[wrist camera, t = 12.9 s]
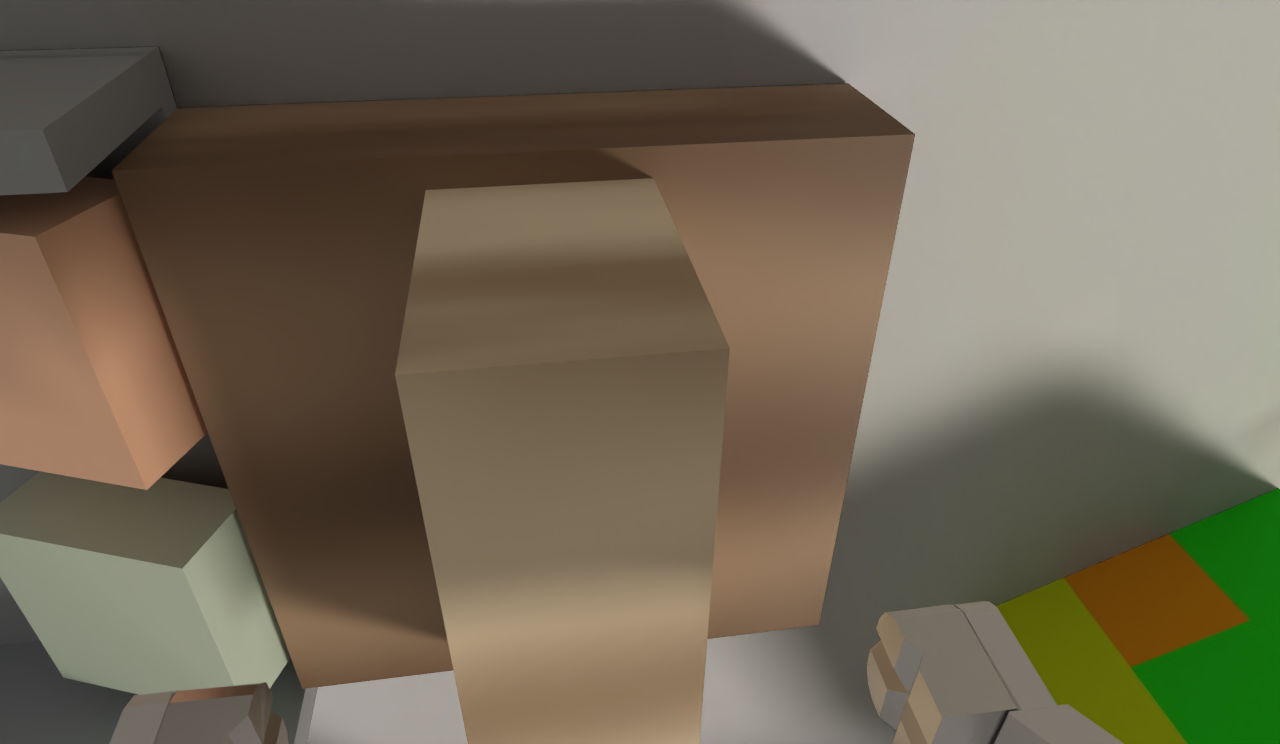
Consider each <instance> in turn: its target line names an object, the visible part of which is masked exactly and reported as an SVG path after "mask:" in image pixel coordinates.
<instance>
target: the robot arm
mask: <svg viewBox="0 0 1280 744" xmlns="http://www.w3.org/2000/svg"><path fill="white" fill-rule="evenodd" d="M876 630H877V632H878V634H879V637H880V639H881V640H880V641H879V642H878V643H877V644H876V645H874V646H873V647H872V648H871V649H870V652H869V656H868V661H867V678H868V686H869V690H870V694H871V697H872V701H873V703H874V706H875V708H876V711H877V713H878V716H879V717H880V718H881V719H882V720H883V721H885V722H886V723H887V724H888V725H890V726H891V727H892V728H893V729H895V730H896V732H895V736H894V740H893V743H892V744H1124V743H1122V742H1121V741H1119V740H1118V739H1117V738H1115V737H1114V736H1112V735H1111V734H1109V733H1108V732H1107V731H1105V730H1104V729H1102V728H1101V727H1099V726H1098V725H1097V724H1095V723H1094V722H1092V721H1091V720H1089V719H1088V718H1087V717H1085V716H1084V715H1082V714H1081V713H1079V712H1078V711H1077V710H1075V709H1074V708H1072V707H1071V706H1069V705H1068V704H1065V705H1057V704H1056V702H1055V700H1054V699H1053V697H1052V696H1051V694H1050V692H1049V691H1048V689H1047V688H1046V686H1045V684H1044V683H1043V681H1042V679H1041V678H1040V676H1039V675H1038V673H1037V671H1036V670H1035V668H1034V666H1033V665H1032V663H1031V662H1030V660H1029V658H1028V657H1027V655H1026V653H1025V652H1024V650H1023V649H1022V647H1021V645H1020V644H1019V642H1018V641H1017V639H1016V637H1015V636H1014V634H1013V632H1012V631H1011V629H1010V628H1009V626H1008V624H1007V623H1006V621H1005V619H1004V618H1003V616H1002V615H1001V613H1000V611H999V610H998V608H997V607H996V606H995V605H993V604H992V603H991V602H990V601H979V602H971V603H964V604H956V605H951V604H946V605H939V606H931V607H923V608H915V609H908V610H900V611H892V612H885V613H884V614H883V615H882V616H881V617H880V618H879V621H878V624H877V628H876ZM273 698H274V697H273V695H272V693H271V691H270V689H269V687H268V685H267V683H266V682H263V683H253V684H243V685H232V686H222V687H212V688H202V689H192V690H177V691H168V692H159V693H150V694H141V695H134V696H133V698H132V699H131V700H130V701H129V703H128V704H127V705H126V707H125V708H124V709H123V711H122V713H121V716H120V718H119V721H118V723H117V726H116V728H115V731H114V733H113V736H112V738H111V741H110V743H109V744H289V742H288V735H287V729H286V726H285V724H284V721H283V719H282V717H280V716H278V715H276V714H274V713H272V712H271V706H272V702H273Z"/></svg>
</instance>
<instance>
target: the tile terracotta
mask: <svg viewBox="0 0 1280 744" xmlns="http://www.w3.org/2000/svg"><path fill="white" fill-rule="evenodd" d="M207 433H208V431H207V429H206V426H205V423H204V420H203V418H202V415H201V412H200V410H199V407H198V404H197V401H196V399H195V396H194V393H193V391H192V388H191V385H190V382H189V380H188V377H187V374H186V372H185V369H184V366H183V363H182V361H181V358H180V355H179V353H178V350H177V347H176V344H175V342H174V339H173V336H172V334H171V331H170V328H169V325H168V323H167V320H166V317H165V315H164V312H163V309H162V306H161V304H160V301H159V298H158V296H157V293H156V290H155V287H154V285H153V282H152V279H151V277H150V274H149V271H148V268H147V266H146V263H145V260H144V258H143V255H142V252H141V249H140V247H139V244H138V241H137V239H136V236H135V233H134V230H133V228H132V225H131V222H130V220H129V217H128V214H127V211H126V209H125V206H124V203H123V201H122V198H121V195H120V192H119V190H118V187H117V184H116V182H115V180H114V179H104V178H94V177H84V178H83V179H82V180H81V181H79V182H78V183H77V184H76V185H75V186H74V187H73V188H72V189H71V190H70V191H68V192H61V193H40V194H20V195H0V464H2V465H7V466H13V467H19V468H24V469H30V470H36V471H41V472H47V473H53V474H59V475H64V476H70V477H76V478H81V479H87V480H93V481H98V482H104V483H110V484H115V485H121V486H127V487H132V488H138V489H144V490H148V489H149V488H150V487H151V486H152V485H153V484H154V483H155V482H156V481H157V480H158V479H159V478H160V477H161V476H162V475H163V474H165V473H166V472H167V471H168V470H169V469H170V468H171V467H172V466H173V465H174V464H175V463H176V462H177V461H178V460H179V459H180V458H181V457H182V456H184V455H185V454H186V453H187V452H188V451H189V450H190V449H191V448H192V447H193V446H194V445H195V444H196V443H197V442H198V441H199V440H200V439H201V438H203V437H204V436H205V435H206V434H207Z"/></svg>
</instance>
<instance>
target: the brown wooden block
mask: <svg viewBox="0 0 1280 744" xmlns="http://www.w3.org/2000/svg"><path fill="white" fill-rule="evenodd" d="M914 137H915V134H914V133H913V132H911V131H910V130H909V129H907V128H906V127H905V126H904V125H902V124H901V123H900V122H898V121H897V120H896V119H894V118H893V117H892V116H890V115H889V114H888V113H886V112H885V111H884V110H882V109H881V108H880V107H879V106H877V105H876V104H875V103H873V102H872V101H871V100H869V99H868V98H867V97H865V96H864V95H863V94H861V93H860V92H859V91H858V90H856V89H855V88H854V87H852V86H851V85H850V84H848V83H845V84H817V85H790V86H763V87H736V88H709V89H681V90H654V91H627V92H600V93H572V94H545V95H518V96H491V97H463V98H436V99H409V100H382V101H354V102H327V103H300V104H273V105H246V106H218V107H191V108H177V109H176V110H174V111H173V112H172V113H171V114H170V115H169V116H168V117H167V118H166V119H165V120H164V121H163V122H162V123H161V124H160V125H159V126H158V127H157V128H156V129H155V130H154V131H153V132H151V133H150V134H149V135H148V136H147V137H146V138H145V139H144V140H143V141H142V142H141V143H140V144H139V145H138V146H137V147H136V148H135V149H134V150H133V151H132V152H131V153H130V154H129V155H127V156H126V157H125V158H124V159H123V160H122V161H121V162H120V163H119V164H118V165H117V166H116V167H115V168H114V169H113V170H112V173H113V176H114V179H115V182H116V184H117V187H118V190H119V192H120V195H121V198H122V201H123V203H124V206H125V209H126V211H127V214H128V217H129V220H130V222H131V225H132V228H133V230H134V233H135V236H136V239H137V241H138V244H139V247H140V249H141V252H142V255H143V258H144V260H145V263H146V266H147V268H148V271H149V274H150V277H151V279H152V282H153V285H154V287H155V290H156V293H157V296H158V298H159V301H160V304H161V306H162V309H163V312H164V315H165V317H166V320H167V323H168V325H169V328H170V331H171V334H172V336H173V339H174V342H175V344H176V347H177V350H178V353H179V355H180V358H181V361H182V363H183V366H184V369H185V372H186V374H187V377H188V380H189V382H190V385H191V388H192V391H193V393H194V396H195V399H196V401H197V404H198V407H199V410H200V412H201V415H202V418H203V420H204V423H205V426H206V429H207V431H208V434H209V437H210V439H211V442H212V445H213V448H214V450H215V453H216V456H217V458H218V461H219V464H220V467H221V469H222V472H223V475H224V477H225V480H226V483H227V486H228V488H229V491H230V494H231V496H232V499H233V502H234V505H235V507H236V510H237V513H238V515H239V518H240V521H241V524H242V526H243V529H244V532H245V534H246V537H247V540H248V543H249V545H250V548H251V551H252V553H253V556H254V559H255V562H256V564H257V567H258V570H259V572H260V575H261V578H262V581H263V583H264V586H265V589H266V591H267V594H268V597H269V600H270V602H271V605H272V608H273V610H274V613H275V616H276V619H277V621H278V624H279V627H280V629H281V632H282V635H283V638H284V640H285V643H286V646H287V648H288V651H289V654H290V657H291V659H292V662H293V665H294V667H295V670H296V673H297V676H298V678H299V681H300V684H301V686H302V689H305V688H313V687H322V686H330V685H338V684H346V683H354V682H362V681H370V680H378V679H386V678H395V677H403V676H411V675H419V674H427V673H435V672H443V671H451V670H453V665H452V660H451V655H450V650H449V645H448V640H447V635H446V630H445V625H444V620H443V615H442V609H441V604H440V599H439V594H438V589H437V584H436V579H435V574H434V569H433V564H432V559H431V554H430V549H429V544H428V539H427V534H426V529H425V524H424V519H423V514H422V509H421V504H420V499H419V493H418V488H417V483H416V478H415V473H414V468H413V463H412V458H411V453H410V448H409V443H408V438H407V433H406V428H405V423H404V418H403V413H402V408H401V403H400V398H399V393H398V388H397V383H396V377H395V372H396V366H397V360H398V354H399V348H400V342H401V336H402V330H403V324H404V318H405V312H406V305H407V299H408V293H409V287H410V281H411V275H412V269H413V263H414V257H415V251H416V245H417V239H418V233H419V227H420V221H421V215H422V209H423V203H424V197H425V191H426V190H435V189H454V188H473V187H493V186H512V185H531V184H550V183H569V182H588V181H607V180H627V179H646V178H654V180H655V182H656V184H657V187H658V189H659V191H660V193H661V196H662V198H663V200H664V202H665V204H666V207H667V209H668V211H669V213H670V216H671V218H672V220H673V222H674V225H675V227H676V229H677V231H678V234H679V236H680V238H681V240H682V242H683V245H684V247H685V249H686V251H687V254H688V256H689V258H690V260H691V263H692V265H693V267H694V269H695V272H696V274H697V276H698V278H699V280H700V283H701V285H702V287H703V289H704V292H705V294H706V296H707V298H708V301H709V303H710V305H711V307H712V309H713V312H714V314H715V316H716V318H717V321H718V323H719V325H720V327H721V330H722V332H723V334H724V336H725V339H726V341H727V343H728V345H729V347H730V353H729V366H728V379H727V392H726V404H725V417H724V430H723V443H722V456H721V469H720V482H719V495H718V508H717V521H716V534H715V546H714V559H713V572H712V585H711V598H710V611H709V624H708V637H707V639H710V638H719V637H727V636H735V635H743V634H751V633H759V632H767V631H775V630H783V629H791V628H800V627H808V626H816V625H819V622H820V617H821V612H822V607H823V602H824V597H825V592H826V587H827V581H828V576H829V571H830V566H831V561H832V556H833V551H834V546H835V541H836V535H837V530H838V525H839V520H840V515H841V510H842V505H843V500H844V495H845V489H846V484H847V479H848V474H849V469H850V464H851V459H852V454H853V449H854V443H855V438H856V433H857V428H858V423H859V418H860V413H861V408H862V403H863V398H864V392H865V387H866V382H867V377H868V372H869V367H870V362H871V357H872V352H873V346H874V341H875V336H876V331H877V326H878V321H879V316H880V311H881V306H882V300H883V295H884V290H885V285H886V280H887V275H888V270H889V265H890V260H891V254H892V249H893V244H894V239H895V234H896V229H897V224H898V219H899V214H900V208H901V203H902V198H903V193H904V188H905V183H906V178H907V173H908V168H909V163H910V157H911V152H912V147H913V142H914Z"/></svg>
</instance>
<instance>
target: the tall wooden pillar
mask: <svg viewBox="0 0 1280 744" xmlns="http://www.w3.org/2000/svg"><path fill="white" fill-rule="evenodd" d="M729 353H730V347H729V345H728V343H727V341H726V339H725V336H724V334H723V332H722V330H721V327H720V325H719V323H718V321H717V318H716V316H715V314H714V312H713V309H712V307H711V305H710V303H709V301H708V298H707V296H706V294H705V292H704V289H703V287H702V285H701V283H700V280H699V278H698V276H697V274H696V272H695V269H694V267H693V265H692V263H691V260H690V258H689V256H688V254H687V251H686V249H685V247H684V245H683V242H682V240H681V238H680V236H679V234H678V231H677V229H676V227H675V225H674V222H673V220H672V218H671V216H670V213H669V211H668V209H667V207H666V204H665V202H664V200H663V198H662V196H661V193H660V191H659V189H658V187H657V184H656V182H655V180H654V178H646V179H627V180H607V181H588V182H569V183H550V184H531V185H512V186H493V187H473V188H454V189H435V190H426V191H425V197H424V203H423V209H422V215H421V221H420V227H419V233H418V239H417V245H416V251H415V257H414V263H413V269H412V275H411V281H410V287H409V293H408V299H407V305H406V312H405V318H404V324H403V330H402V336H401V342H400V348H399V354H398V360H397V366H396V372H395V377H396V383H397V388H398V393H399V398H400V403H401V408H402V413H403V418H404V423H405V428H406V433H407V438H408V443H409V448H410V453H411V458H412V463H413V468H414V473H415V478H416V483H417V488H418V493H419V499H420V504H421V509H422V514H423V519H424V524H425V529H426V534H427V539H428V544H429V549H430V554H431V559H432V564H433V569H434V574H435V579H436V584H437V589H438V594H439V599H440V604H441V609H442V615H443V620H444V625H445V630H446V635H447V640H448V645H449V650H450V655H451V660H452V665H453V670H454V675H455V680H456V685H457V690H458V695H459V700H460V705H461V710H462V715H463V720H464V725H465V731H466V736H467V741H468V744H699V740H700V727H701V714H702V701H703V688H704V675H705V663H706V650H707V637H708V624H709V611H710V598H711V585H712V572H713V559H714V546H715V534H716V521H717V508H718V495H719V482H720V469H721V456H722V443H723V430H724V417H725V404H726V392H727V379H728V366H729Z"/></svg>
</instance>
